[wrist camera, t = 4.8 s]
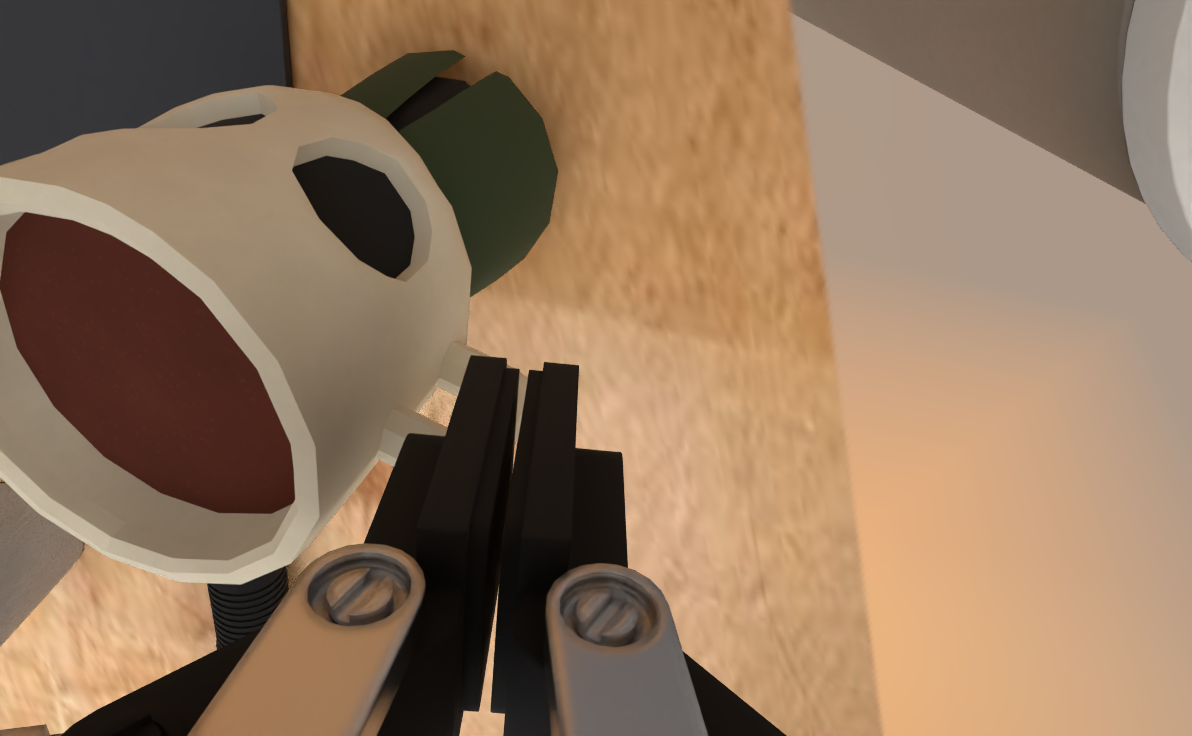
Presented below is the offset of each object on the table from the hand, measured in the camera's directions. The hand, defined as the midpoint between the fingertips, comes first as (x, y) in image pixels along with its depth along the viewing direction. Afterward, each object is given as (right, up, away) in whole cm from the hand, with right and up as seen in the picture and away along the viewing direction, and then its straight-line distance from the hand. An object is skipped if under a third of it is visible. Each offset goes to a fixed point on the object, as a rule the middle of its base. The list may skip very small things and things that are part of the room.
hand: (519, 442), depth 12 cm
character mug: (-3, +7, +10) cm, 13 cm away
